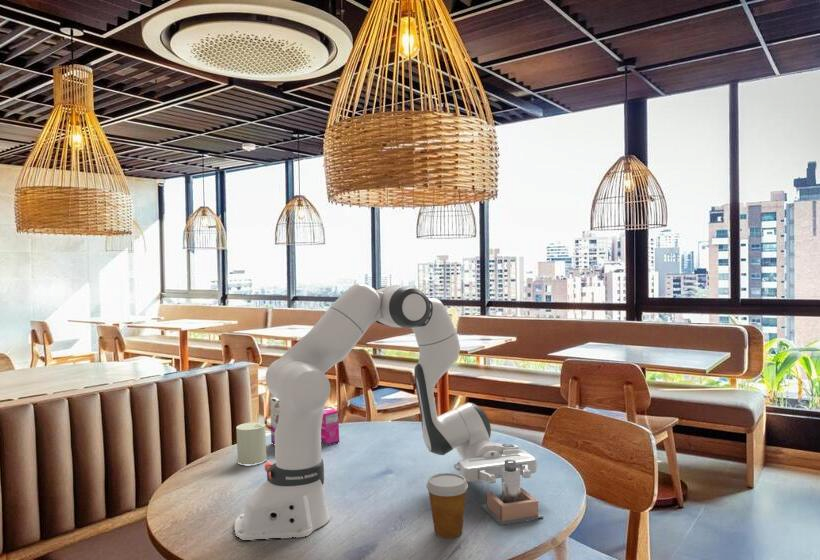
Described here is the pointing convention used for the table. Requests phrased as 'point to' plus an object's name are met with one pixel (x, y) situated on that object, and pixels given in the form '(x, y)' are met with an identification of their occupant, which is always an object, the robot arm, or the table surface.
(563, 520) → the table surface
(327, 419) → the supplement box
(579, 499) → the table surface
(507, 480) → the silver water flask
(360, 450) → the table surface
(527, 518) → the dock
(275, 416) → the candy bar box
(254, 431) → the can
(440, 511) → the disposable coffee cup
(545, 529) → the table surface
